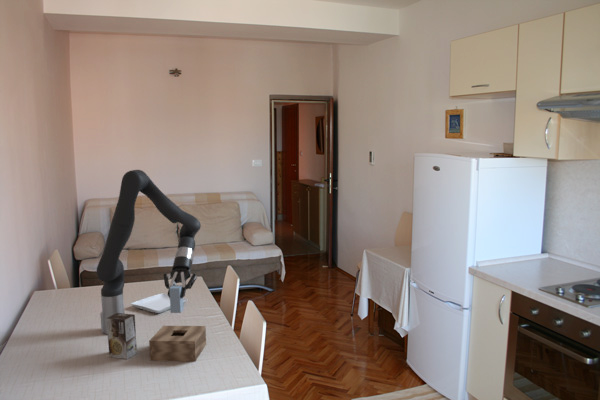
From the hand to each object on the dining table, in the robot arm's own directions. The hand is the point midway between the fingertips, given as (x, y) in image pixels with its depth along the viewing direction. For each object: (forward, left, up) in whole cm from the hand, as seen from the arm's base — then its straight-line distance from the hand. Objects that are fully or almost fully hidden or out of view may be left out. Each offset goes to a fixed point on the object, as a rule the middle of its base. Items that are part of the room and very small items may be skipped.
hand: (175, 297), depth 193 cm
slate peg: (0, +1, -6) cm, 6 cm away
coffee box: (-22, -2, -23) cm, 32 cm away
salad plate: (-28, +57, -24) cm, 68 cm away
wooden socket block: (0, +1, -23) cm, 23 cm away
